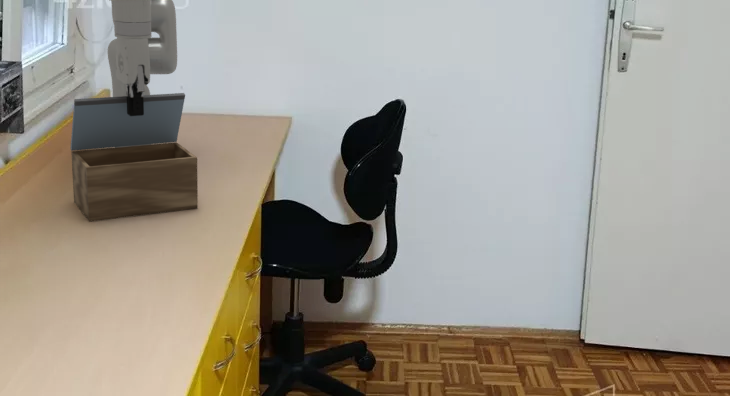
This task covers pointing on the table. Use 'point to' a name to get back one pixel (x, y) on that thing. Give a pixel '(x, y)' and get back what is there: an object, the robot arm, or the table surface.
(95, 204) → the wooden box
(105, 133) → the lid flap
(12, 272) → the table surface
